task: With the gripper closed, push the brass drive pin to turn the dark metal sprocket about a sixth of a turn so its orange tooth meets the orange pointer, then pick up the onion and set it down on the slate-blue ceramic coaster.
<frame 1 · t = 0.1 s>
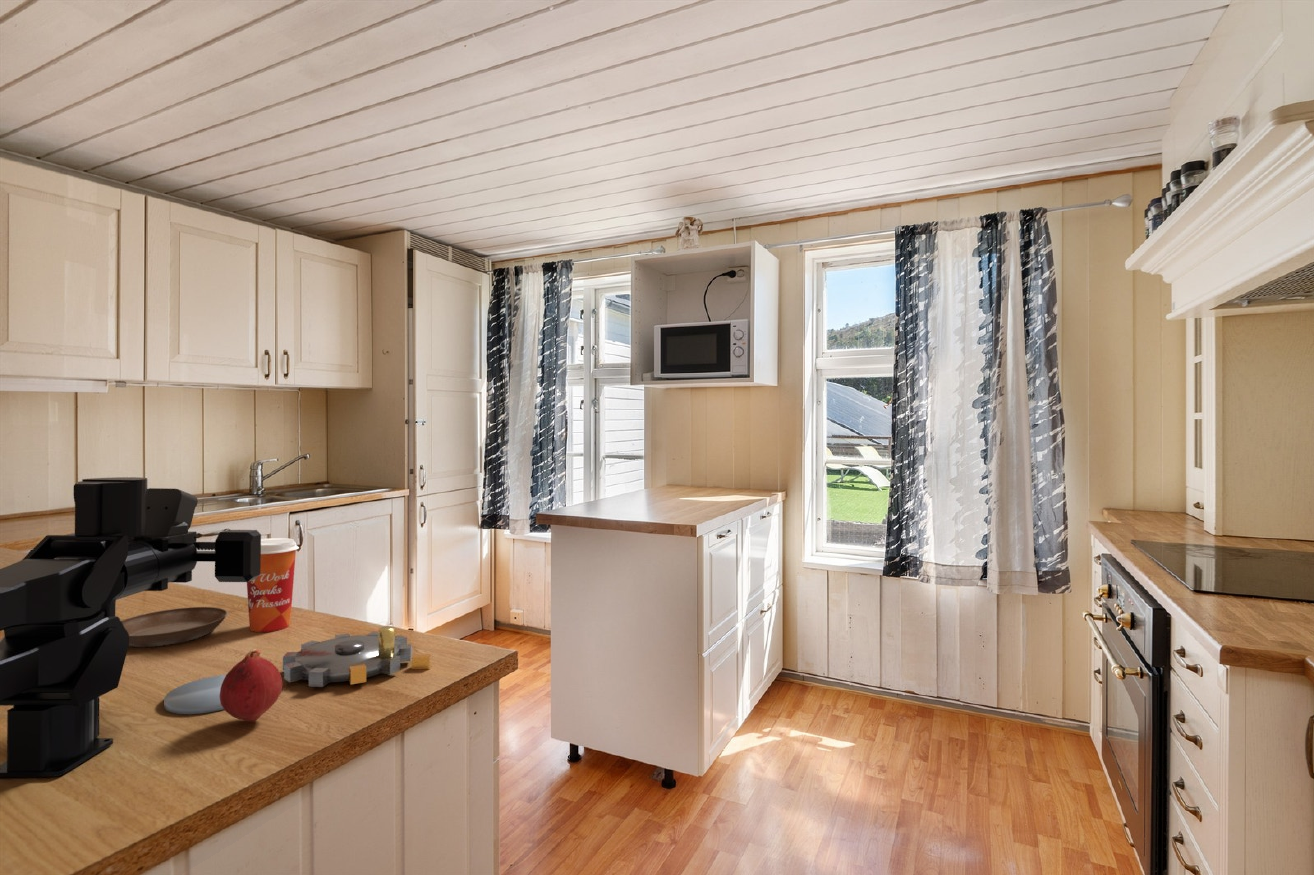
hand: (220, 543, 87), 17 cm above the worktop, tool horizontal, fingers open, 9 cm apart
saucer: (170, 638, 99), on the worktop
sprocket: (349, 643, 87), point 3 cm above the worktop, hinge at 0.0°
coaster: (216, 695, 77), on the worktop
wooden toy brick: (349, 667, 87), on the worktop
onion: (251, 723, 71), on the worktop
paper cup: (270, 628, 104), on the worktop
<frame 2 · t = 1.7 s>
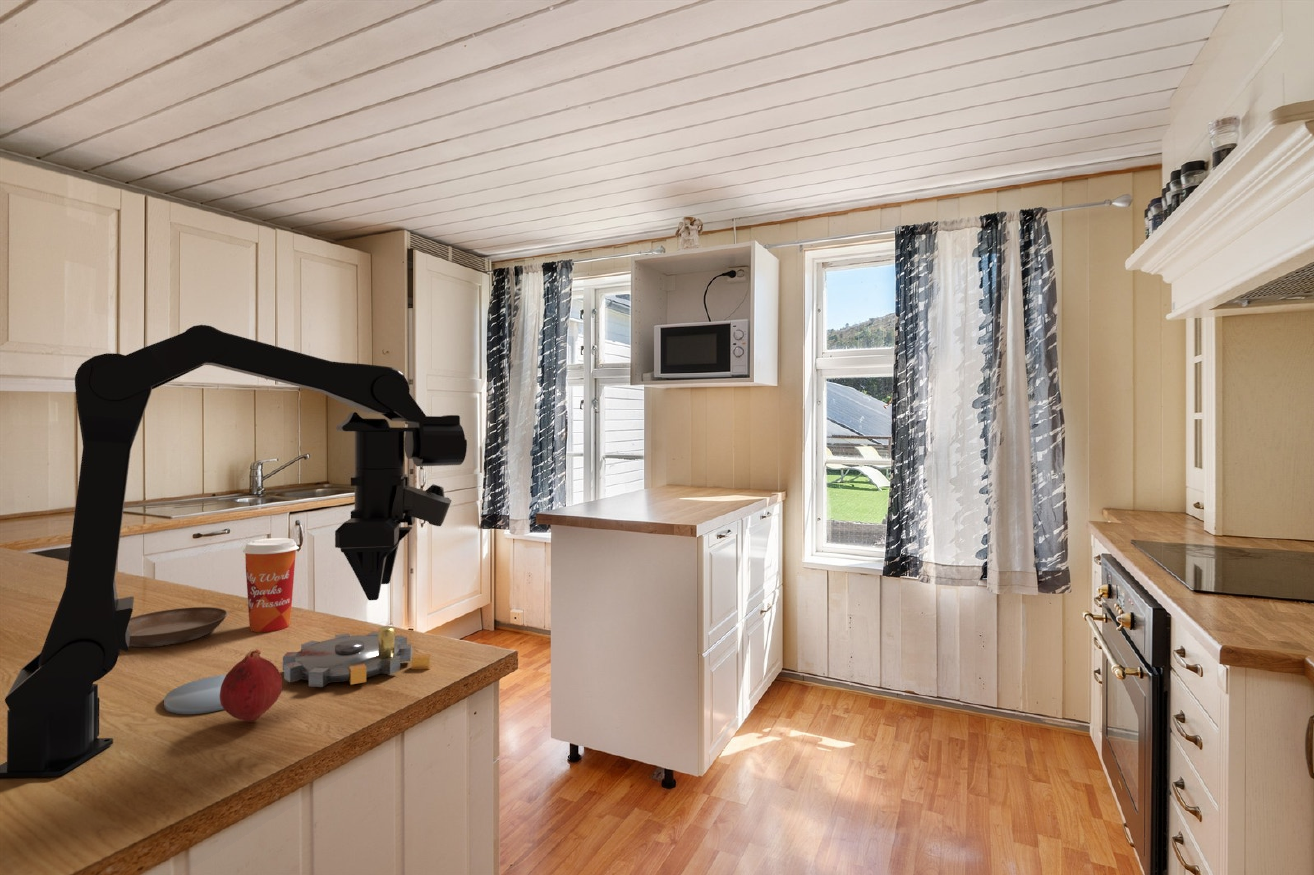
hand: (379, 591, 80), 12 cm above the worktop, tool pointing down, fingers open, 8 cm apart
nothing on the worktop moved.
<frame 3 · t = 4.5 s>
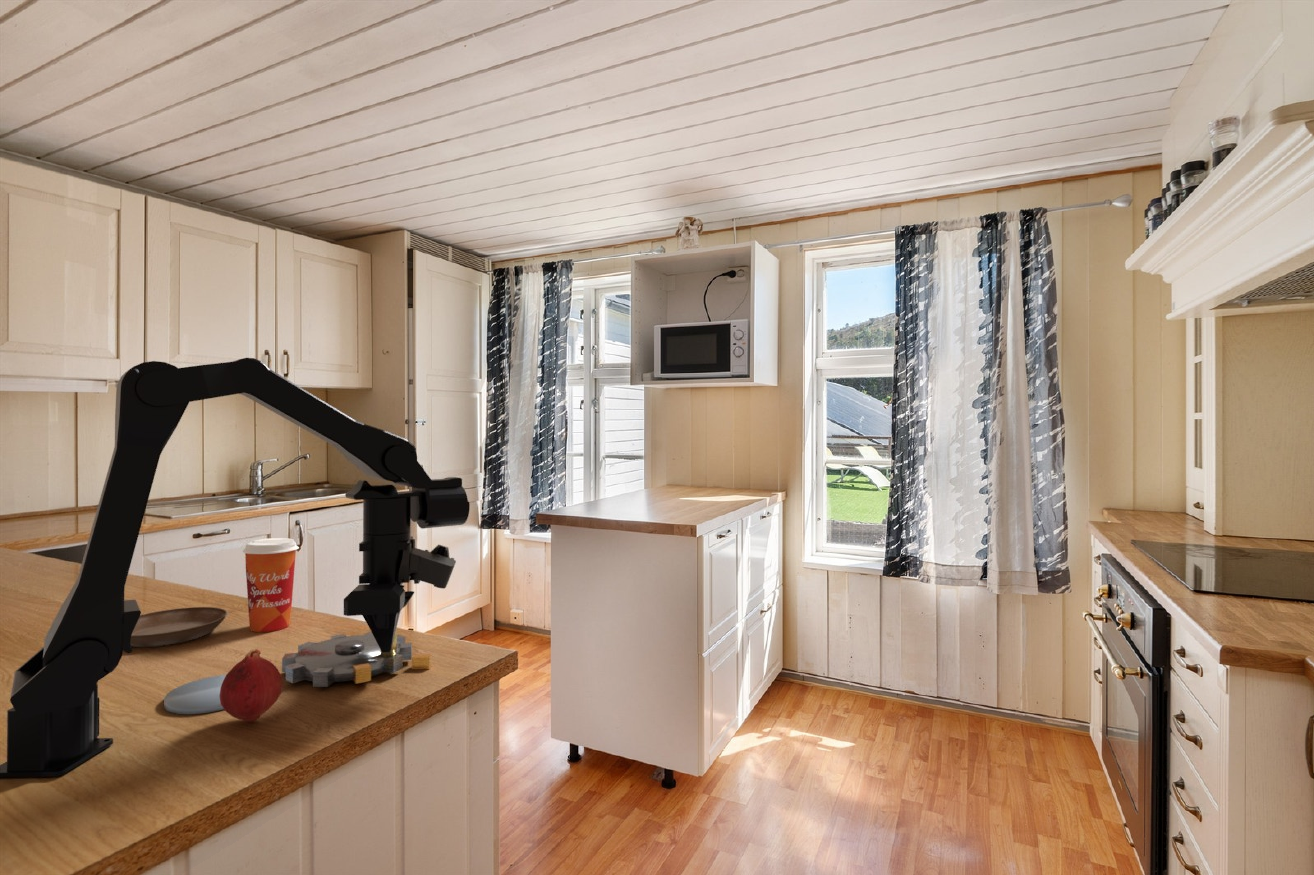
hand: (386, 651, 83), 4 cm above the worktop, tool pointing down, fingers closed
sprocket: (349, 643, 87), point 3 cm above the worktop, hinge at 4.1°, touching gripper
everything else where it was.
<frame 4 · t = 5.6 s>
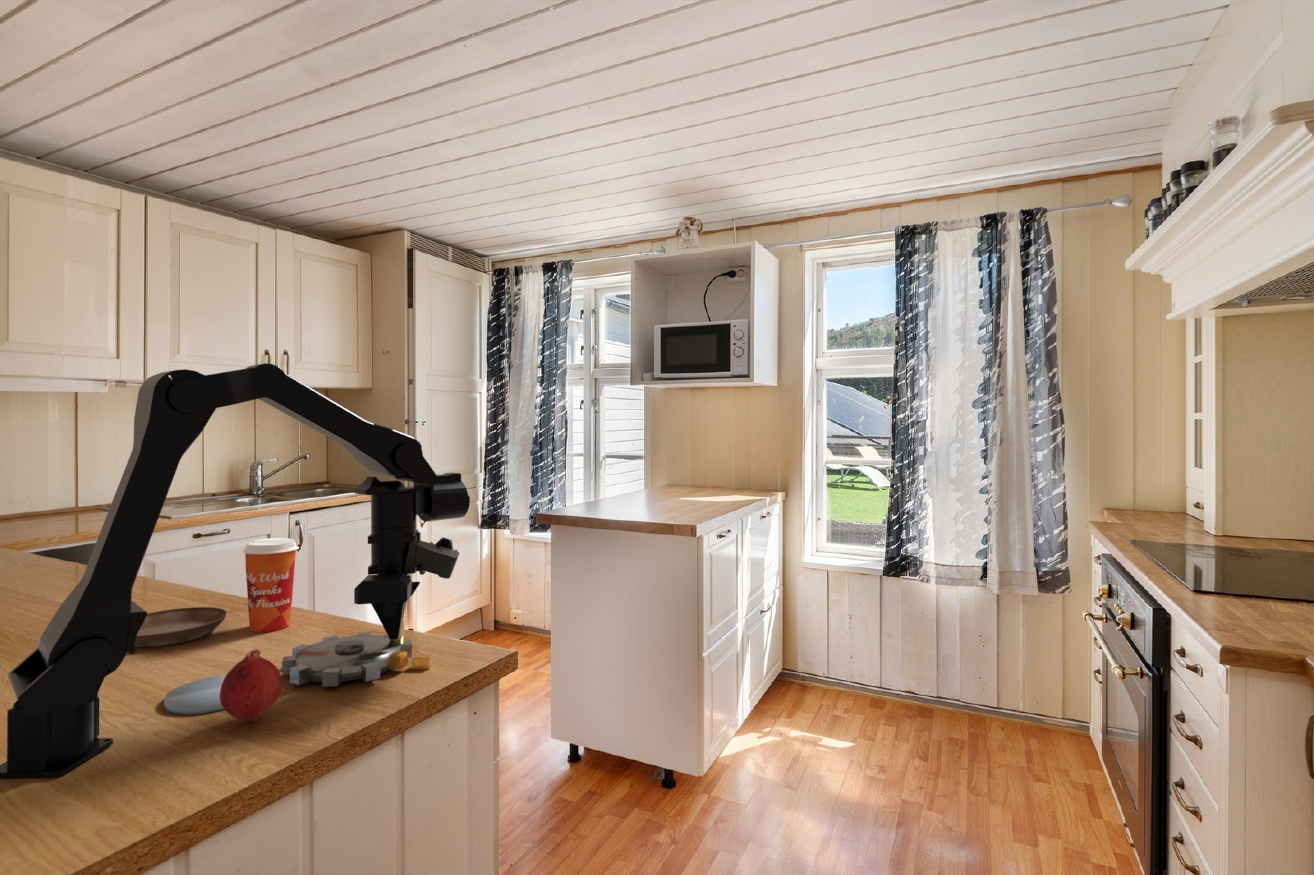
hand: (394, 638, 88), 4 cm above the worktop, tool pointing down, fingers closed
sprocket: (349, 643, 87), point 3 cm above the worktop, hinge at 48.7°, touching gripper
everything else where it was.
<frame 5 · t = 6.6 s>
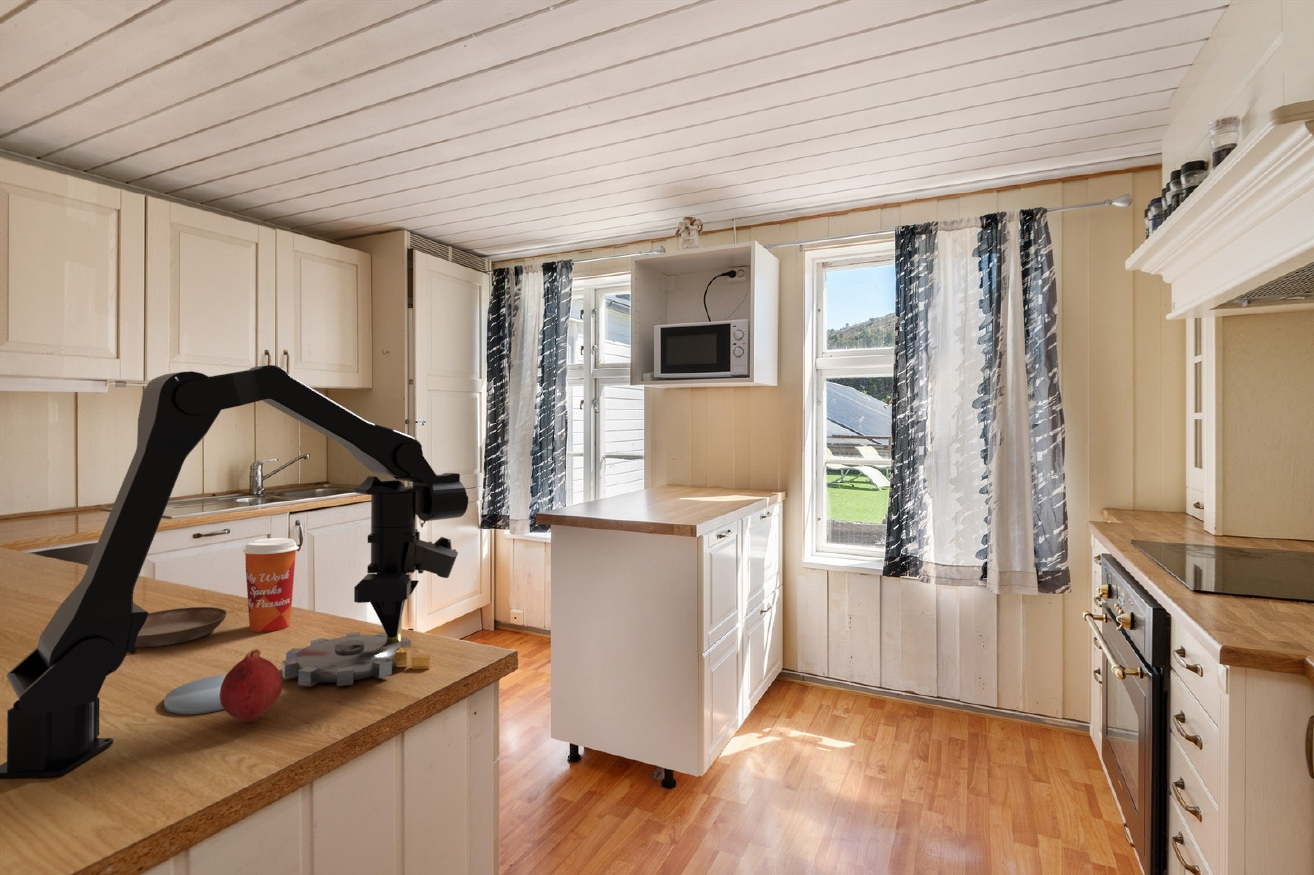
hand: (392, 636, 89), 4 cm above the worktop, tool pointing down, fingers closed
sprocket: (349, 643, 87), point 3 cm above the worktop, hinge at 60.8°, touching gripper
everything else where it was.
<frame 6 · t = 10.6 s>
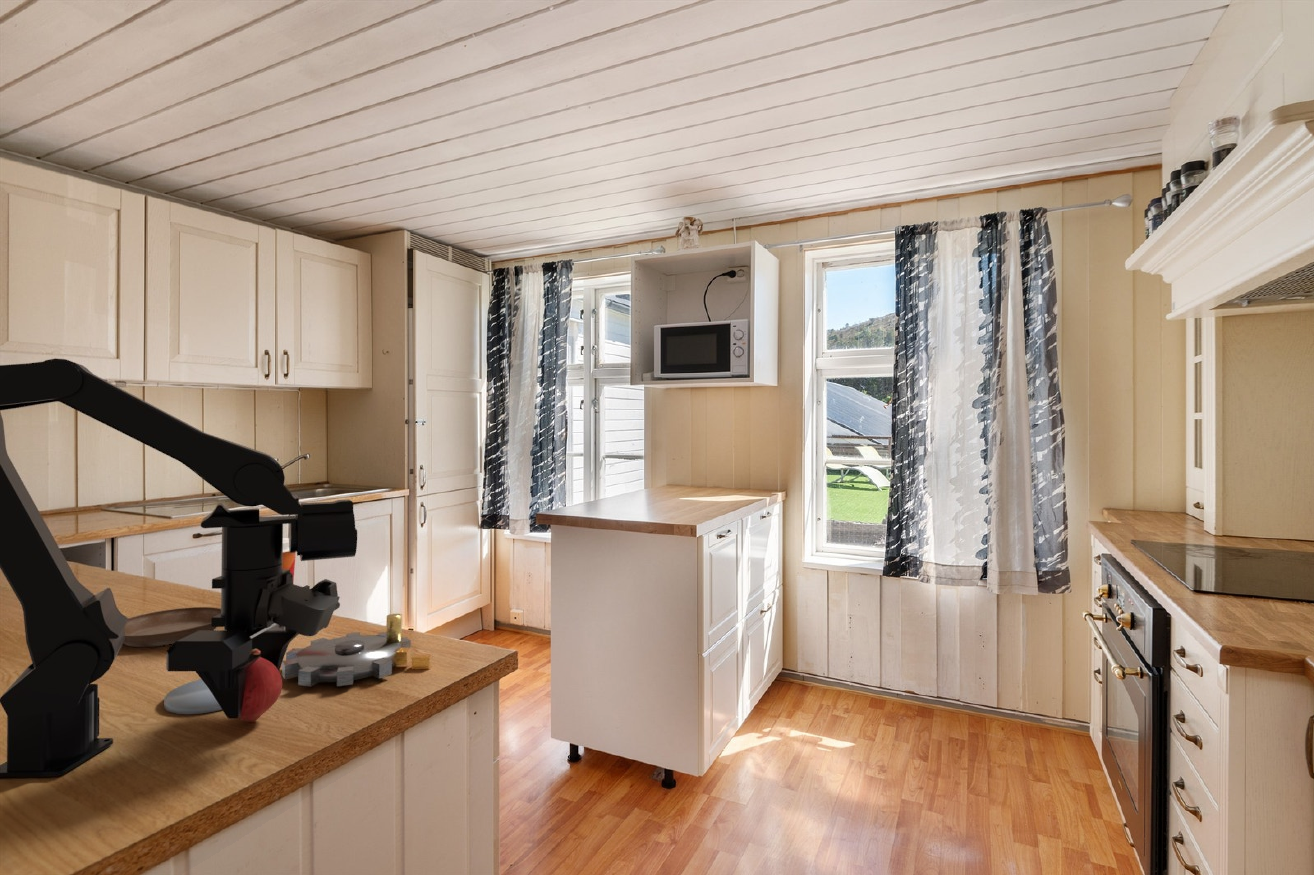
hand: (251, 705, 71), 2 cm above the worktop, tool pointing down, fingers closed on onion, 6 cm apart
sprocket: (349, 643, 87), point 3 cm above the worktop, hinge at 60.8°
onion: (251, 723, 71), on the worktop, touching gripper
everything else where it was.
when the fingers open (4 cm above the worktop, at t = 14.3 s): onion drops 1 cm, resting on coaster.
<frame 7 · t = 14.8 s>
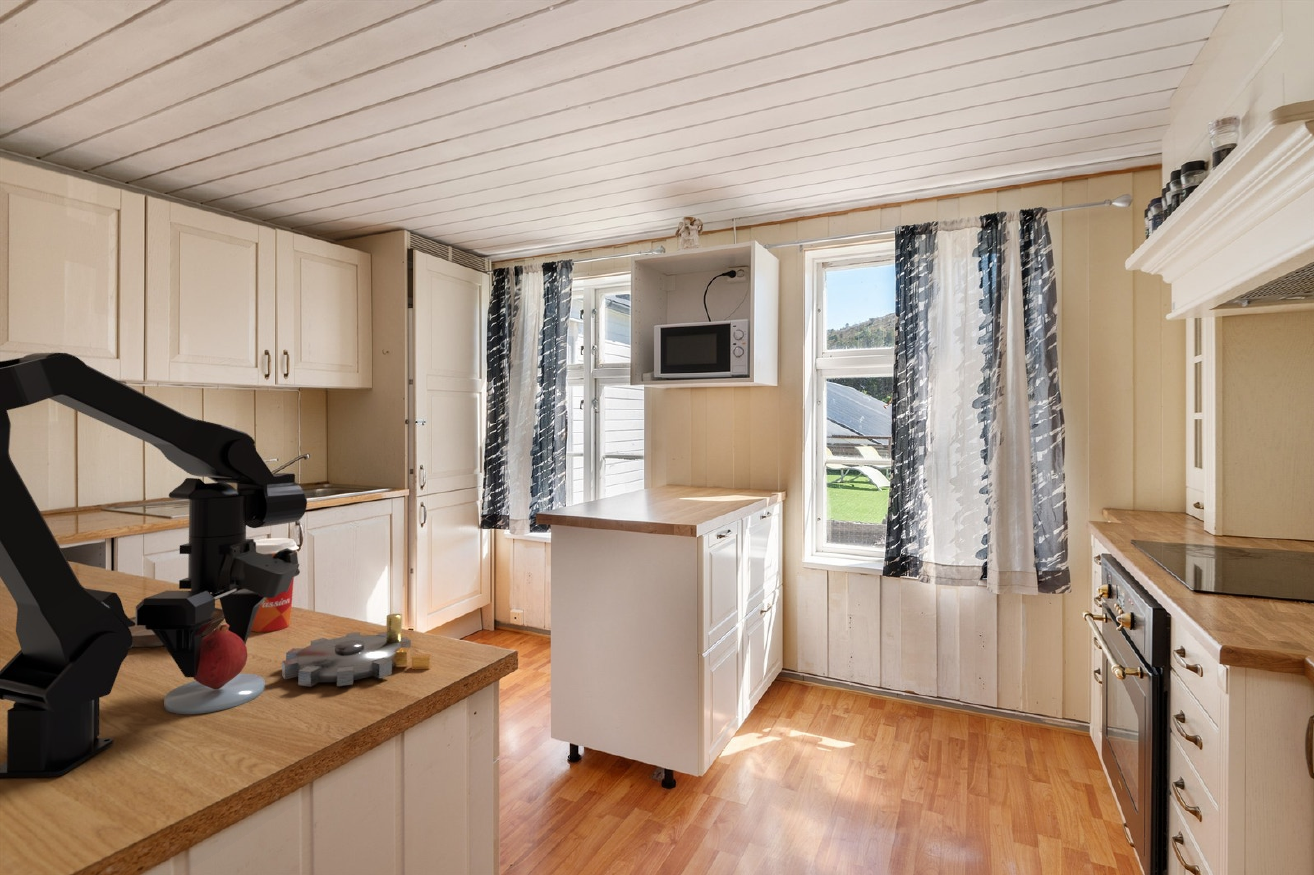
hand: (216, 662, 77), 4 cm above the worktop, tool pointing down, fingers open, 9 cm apart
onion: (215, 690, 77), point 1 cm above the worktop, touching coaster
everything else where it was.
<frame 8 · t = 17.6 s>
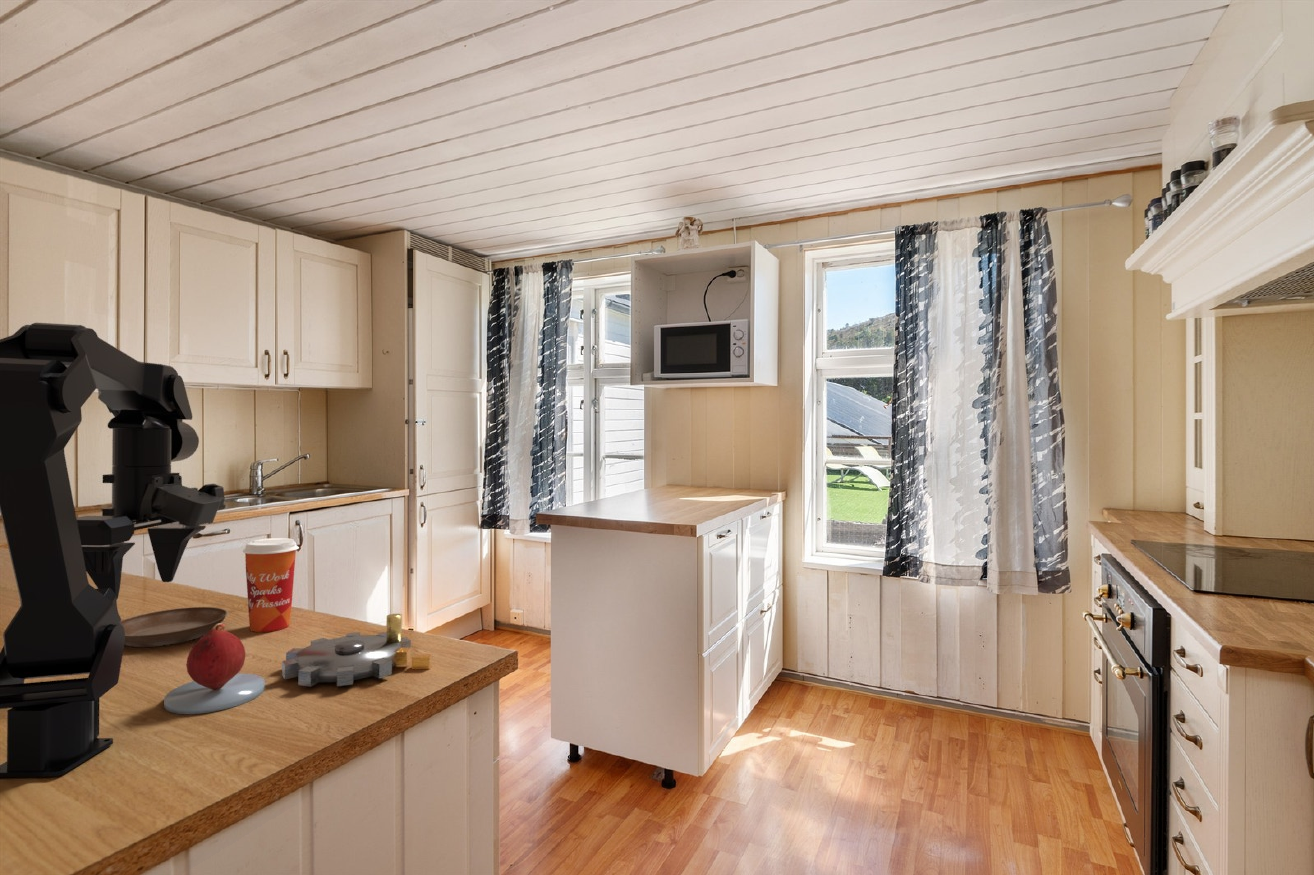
hand: (141, 590, 79), 12 cm above the worktop, tool pointing down, fingers open, 9 cm apart
nothing on the worktop moved.
at the end: sprocket at +61° (first picture: +0°); onion 0.2 cm from the coaster (horizontally); the gripper is holding nothing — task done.
